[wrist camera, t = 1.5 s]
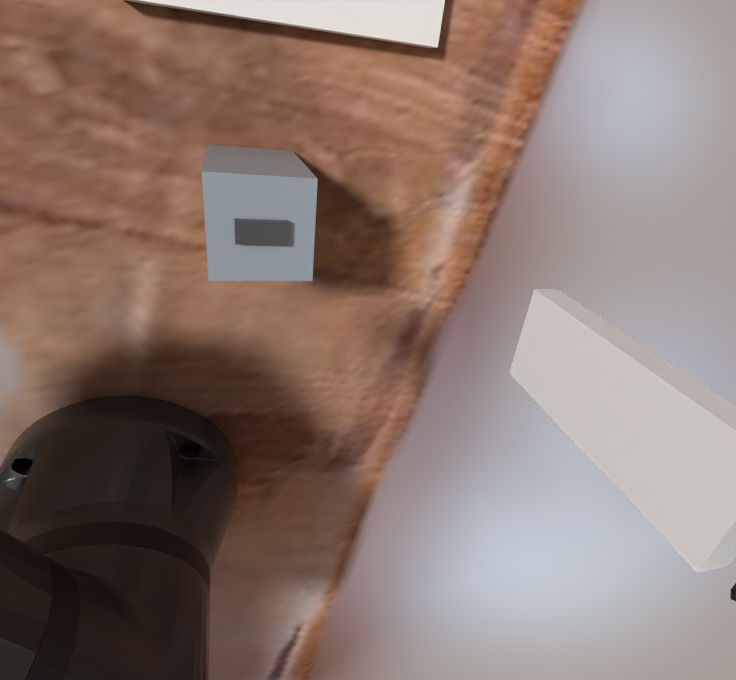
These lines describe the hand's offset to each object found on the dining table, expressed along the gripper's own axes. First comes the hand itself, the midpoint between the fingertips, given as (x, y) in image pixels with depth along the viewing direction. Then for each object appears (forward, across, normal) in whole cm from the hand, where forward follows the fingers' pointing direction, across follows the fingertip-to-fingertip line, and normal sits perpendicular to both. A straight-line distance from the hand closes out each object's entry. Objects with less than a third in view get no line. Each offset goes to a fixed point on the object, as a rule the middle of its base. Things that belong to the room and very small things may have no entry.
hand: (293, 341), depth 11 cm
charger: (+18, 0, 0) cm, 18 cm away
